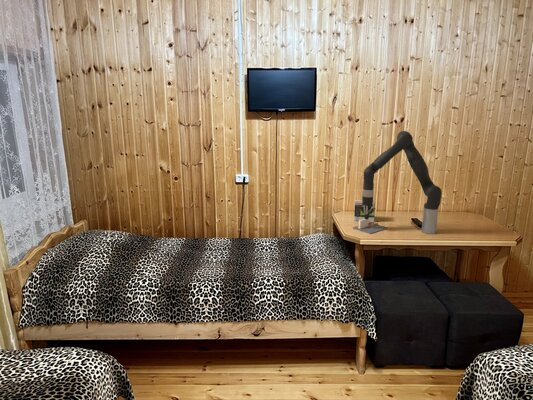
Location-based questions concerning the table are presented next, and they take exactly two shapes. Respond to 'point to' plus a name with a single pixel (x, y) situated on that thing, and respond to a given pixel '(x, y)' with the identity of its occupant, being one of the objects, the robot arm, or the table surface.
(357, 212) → the tea box
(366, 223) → the tile
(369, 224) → the slot stand
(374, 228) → the mat
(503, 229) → the table surface
